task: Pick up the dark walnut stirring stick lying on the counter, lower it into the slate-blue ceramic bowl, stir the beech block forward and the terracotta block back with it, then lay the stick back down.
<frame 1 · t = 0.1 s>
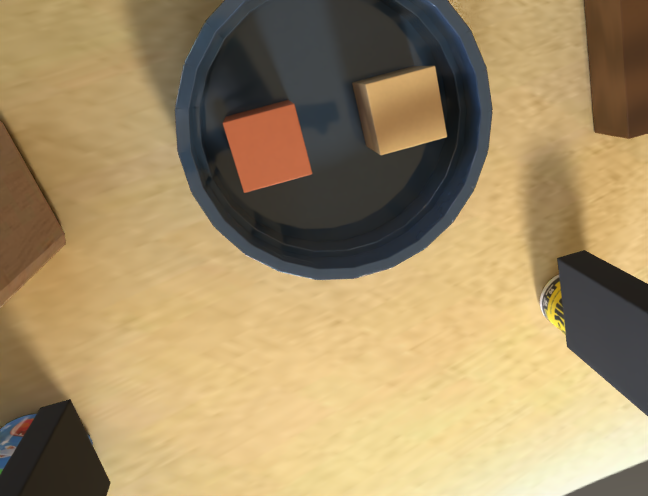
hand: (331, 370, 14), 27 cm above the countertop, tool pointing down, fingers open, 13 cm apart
stick: (603, 47, 40), on the countertop
supplement bottle: (563, 295, 46), on the countertop
bowl: (327, 122, 39), on the countertop
snack cup: (48, 447, 44), on the countertop
block terracotta: (266, 140, 38), point 1 cm above the countertop, touching bowl
block beech: (389, 106, 39), point 1 cm above the countertop, touching bowl
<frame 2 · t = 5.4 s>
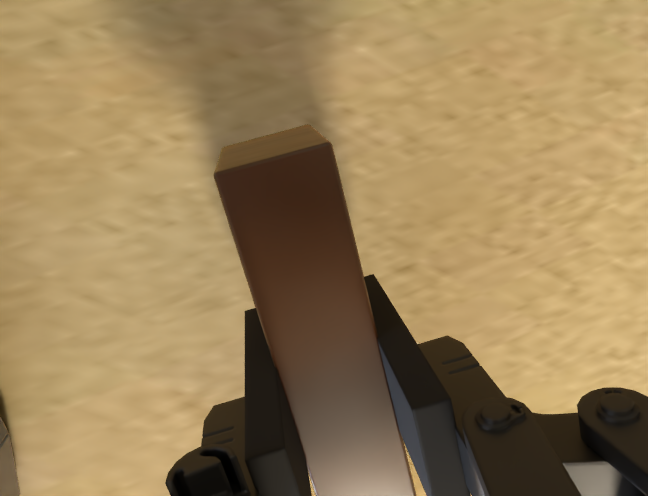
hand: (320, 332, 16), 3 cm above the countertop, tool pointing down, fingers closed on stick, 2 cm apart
stick: (319, 326, 17), point 2 cm above the countertop, touching gripper
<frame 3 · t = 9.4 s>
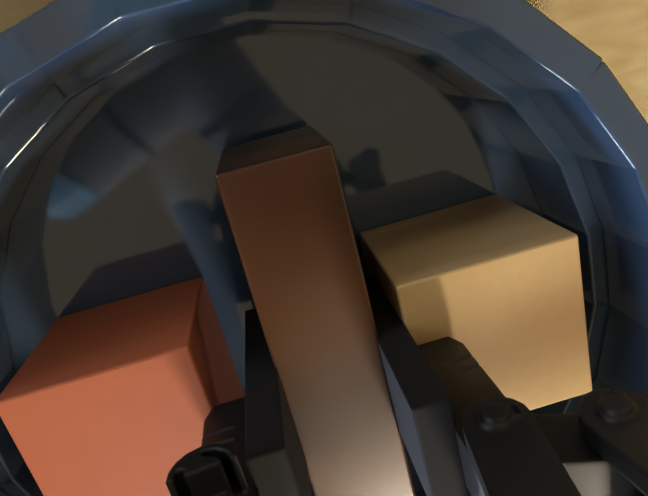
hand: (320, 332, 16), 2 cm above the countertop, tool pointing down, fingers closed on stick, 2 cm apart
stick: (319, 328, 17), point 1 cm above the countertop, touching gripper
bowl: (292, 310, 18), on the countertop
block terracotta: (156, 358, 17), point 1 cm above the countertop, touching bowl
block beech: (439, 277, 18), point 1 cm above the countertop, touching bowl, gripper
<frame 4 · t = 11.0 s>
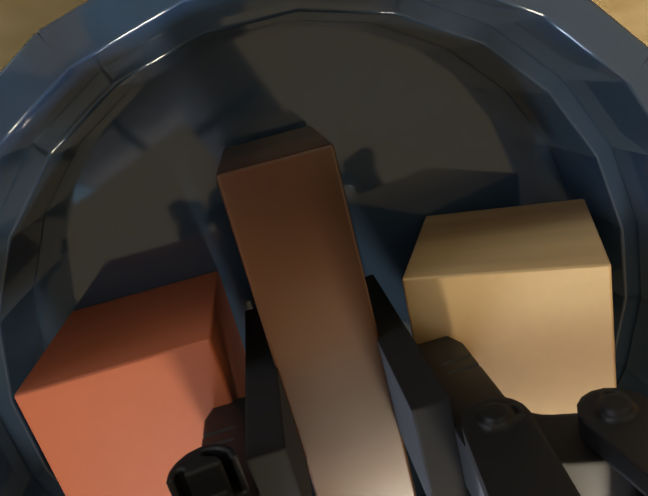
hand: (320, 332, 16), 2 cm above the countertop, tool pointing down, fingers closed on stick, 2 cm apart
stick: (320, 328, 17), point 1 cm above the countertop, touching gripper
bowl: (321, 302, 18), on the countertop
block terracotta: (170, 353, 17), point 1 cm above the countertop, touching gripper
block beech: (508, 275, 17), point 2 cm above the countertop, tilted 26°, touching bowl
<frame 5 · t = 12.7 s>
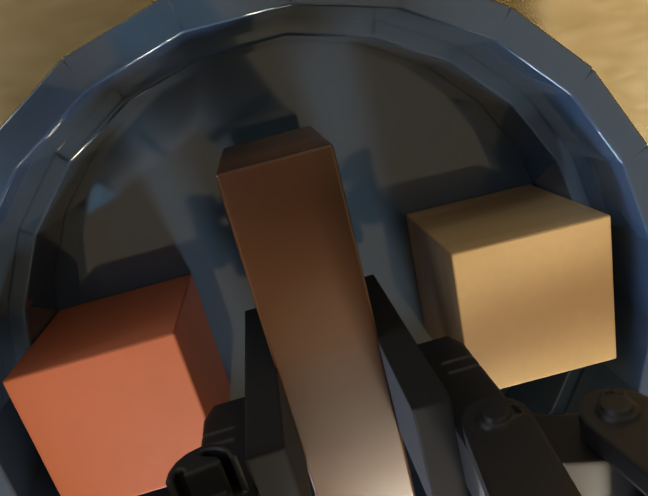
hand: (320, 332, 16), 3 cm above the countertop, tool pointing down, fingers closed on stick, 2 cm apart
stick: (319, 328, 17), point 3 cm above the countertop, touching gripper
bowl: (313, 295, 20), on the countertop
block terracotta: (148, 349, 19), point 1 cm above the countertop, touching bowl
block beech: (475, 258, 20), point 1 cm above the countertop, touching bowl
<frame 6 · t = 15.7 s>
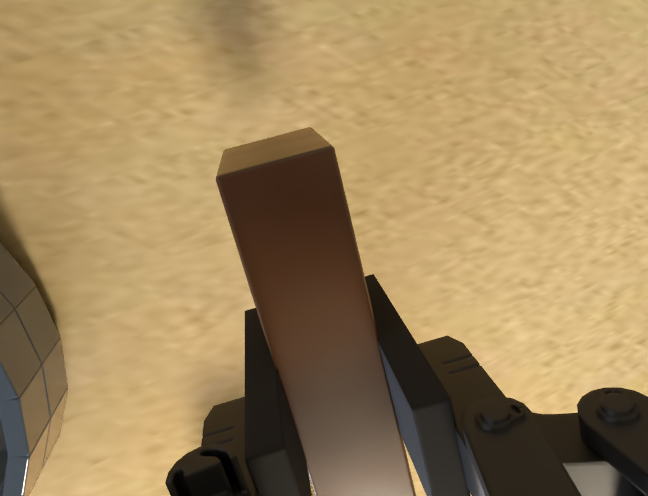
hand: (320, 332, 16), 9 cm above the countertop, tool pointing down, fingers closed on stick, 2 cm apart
stick: (320, 329, 17), point 9 cm above the countertop, touching gripper
when the fingers open (0 cm above the countertop, at t = 17.8 s): stick stays where it is, on the countertop.
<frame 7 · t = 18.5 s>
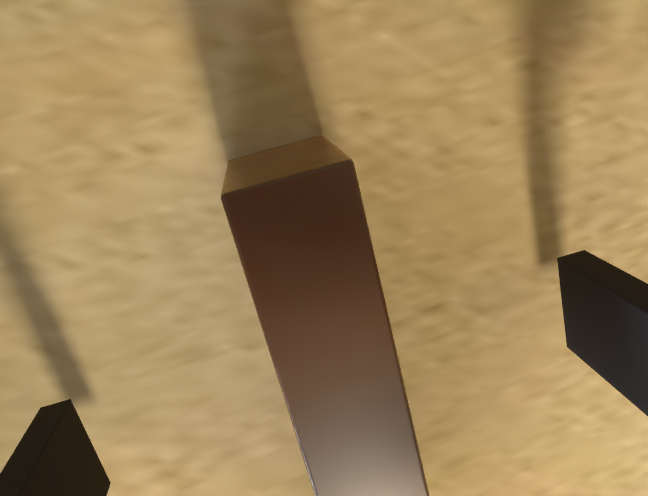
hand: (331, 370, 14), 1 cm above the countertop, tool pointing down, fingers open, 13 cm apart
stick: (331, 352, 16), on the countertop
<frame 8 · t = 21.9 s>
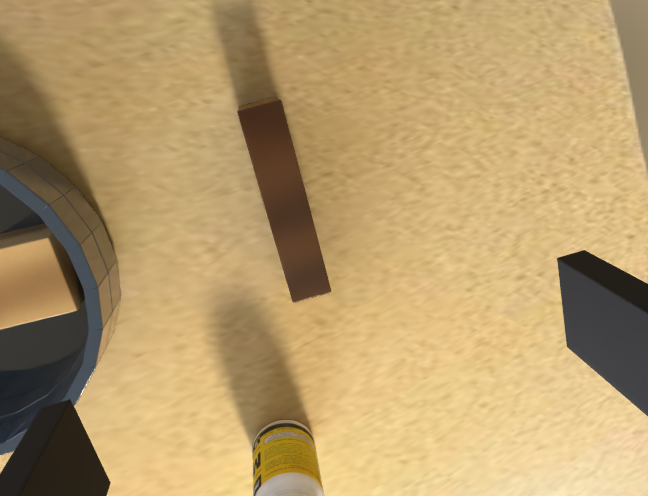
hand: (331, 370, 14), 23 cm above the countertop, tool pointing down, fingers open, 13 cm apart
stick: (283, 193, 36), on the countertop
supplement bottle: (283, 442, 42), on the countertop
block beech: (49, 258, 35), point 1 cm above the countertop, touching bowl
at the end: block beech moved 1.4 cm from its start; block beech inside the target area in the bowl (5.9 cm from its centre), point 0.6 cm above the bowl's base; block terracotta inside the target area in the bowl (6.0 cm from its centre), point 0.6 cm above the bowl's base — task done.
